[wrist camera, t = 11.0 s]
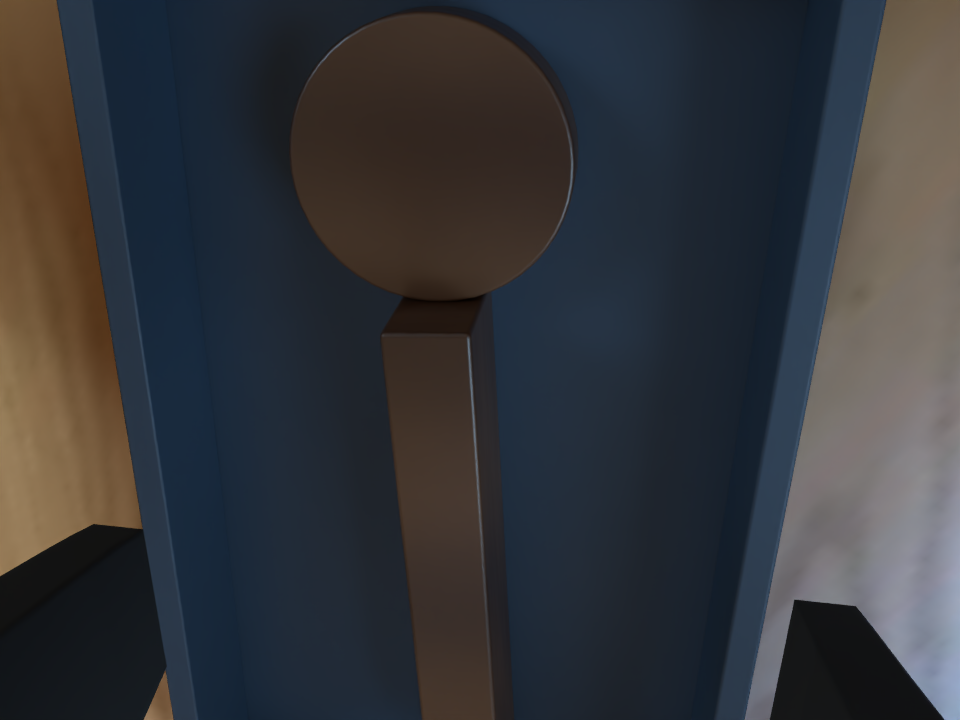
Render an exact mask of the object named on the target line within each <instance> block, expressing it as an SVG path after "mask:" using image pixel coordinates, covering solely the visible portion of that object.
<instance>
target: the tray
mask: <svg viewBox="0 0 960 720" xmlns="http://www.w3.org/2000/svg"><path fill="white" fill-rule="evenodd" d="M57 5H58V11H59V18H60V24H61V30H62V36H63V42H64V48H65V54H66V61H67V67H68V73H69V79H70V85H71V91H72V97H73V104H74V110H75V116H76V122H77V128H78V134H79V140H80V147H81V153H82V159H83V165H84V171H85V177H86V183H87V190H88V196H89V202H90V208H91V214H92V220H93V226H94V233H95V239H96V245H97V251H98V257H99V263H100V269H101V276H102V282H103V288H104V294H105V300H106V306H107V312H108V319H109V325H110V331H111V337H112V343H113V349H114V356H115V362H116V368H117V374H118V380H119V386H120V392H121V399H122V405H123V411H124V417H125V423H126V429H127V435H128V442H129V448H130V454H131V460H132V466H133V472H134V478H135V485H136V491H137V497H138V503H139V509H140V515H141V521H142V528H143V531H144V537H145V542H146V548H147V554H148V560H149V566H150V571H151V577H152V583H153V589H154V595H155V601H156V606H157V612H158V618H159V624H160V630H161V635H162V641H163V647H164V653H165V659H166V664H167V667H166V675H167V681H168V687H169V693H170V700H171V706H172V712H173V718H174V720H422V716H421V707H420V698H419V689H418V680H417V671H416V662H415V653H414V643H413V634H412V625H411V616H410V607H409V598H408V589H407V579H406V570H405V561H404V552H403V543H402V534H401V525H400V516H399V506H398V497H397V488H396V479H395V470H394V461H393V452H392V443H391V433H390V424H389V415H388V406H387V397H386V388H385V379H384V370H383V360H382V351H381V342H380V334H381V332H382V330H383V329H384V327H385V325H386V324H387V322H388V320H389V319H390V317H391V316H392V314H393V312H394V311H395V309H396V307H397V306H398V304H399V303H400V301H401V299H402V298H403V296H399V295H396V294H393V293H390V292H387V291H385V290H383V289H381V288H378V287H376V286H374V285H372V284H370V283H368V282H367V281H365V280H363V279H362V278H360V277H358V276H357V275H355V274H354V273H353V272H352V271H350V270H349V269H348V268H346V267H345V266H344V265H343V264H342V263H340V262H339V261H338V260H337V259H336V258H335V257H334V256H333V255H332V254H331V253H330V252H329V251H328V249H327V248H326V247H325V246H324V244H323V243H322V242H321V241H320V239H319V238H318V237H317V235H316V234H315V232H314V230H313V229H312V227H311V226H310V224H309V222H308V220H307V218H306V216H305V214H304V212H303V210H302V208H301V206H300V203H299V200H298V197H297V194H296V191H295V188H294V184H293V179H292V174H291V169H290V157H289V139H290V128H291V123H292V117H293V112H294V109H295V106H296V103H297V100H298V97H299V94H300V92H301V90H302V88H303V86H304V84H305V81H306V79H307V78H308V76H309V75H310V73H311V72H312V70H313V69H314V67H315V65H316V64H317V62H318V61H319V60H320V59H321V58H322V57H323V56H324V55H325V53H326V52H327V51H328V50H329V49H330V48H331V47H332V46H333V45H335V44H336V43H337V42H338V41H339V40H341V39H342V38H343V37H344V36H346V35H347V34H349V33H350V32H352V31H354V30H355V29H357V28H358V27H360V26H362V25H364V24H367V23H369V22H371V21H373V20H376V19H378V18H381V17H384V16H386V15H389V14H392V13H395V12H399V11H403V10H406V9H410V8H417V7H425V6H450V7H456V8H462V9H468V10H471V11H474V12H477V13H480V14H484V15H487V16H489V17H491V18H493V19H495V20H497V21H499V22H501V23H503V24H505V25H507V26H508V27H510V28H511V29H513V30H514V31H516V32H517V33H519V34H520V35H521V36H523V37H524V38H525V39H526V40H527V41H528V42H530V43H531V44H532V45H533V46H534V47H535V48H536V49H537V50H538V51H539V52H540V53H541V55H542V56H543V57H544V58H545V59H546V60H547V61H548V63H549V64H550V66H551V67H552V69H553V70H554V72H555V73H556V75H557V76H558V78H559V80H560V82H561V84H562V86H563V88H564V90H565V92H566V94H567V96H568V99H569V102H570V105H571V107H572V110H573V114H574V118H575V123H576V128H577V136H578V149H579V150H578V168H577V173H576V178H575V184H574V189H573V193H572V198H571V202H570V205H569V208H568V211H567V214H566V217H565V219H564V221H563V223H562V225H561V228H560V230H559V232H558V234H557V235H556V237H555V238H554V240H553V241H552V243H551V244H550V246H549V247H548V249H547V250H546V251H545V252H544V254H543V255H542V256H541V257H540V258H539V259H538V260H537V262H536V263H535V264H533V265H532V266H531V267H530V268H529V269H528V270H527V271H525V272H524V273H523V274H522V275H520V276H519V277H517V278H516V279H514V280H513V281H511V282H510V283H508V284H507V285H504V286H502V287H500V288H498V289H496V290H494V291H492V292H491V295H492V314H493V332H494V351H495V370H496V388H497V407H498V426H499V445H500V463H501V482H502V501H503V520H504V538H505V557H506V576H507V595H508V613H509V632H510V651H511V670H512V688H513V707H514V720H744V719H745V714H746V709H747V704H748V699H749V694H750V689H751V684H752V678H753V673H754V668H755V663H756V658H757V653H758V648H759V643H760V638H761V633H762V628H763V623H764V618H765V613H766V608H767V602H768V597H769V592H770V587H771V582H772V577H773V572H774V567H775V562H776V557H777V552H778V547H779V542H780V537H781V532H782V526H783V521H784V516H785V511H786V506H787V501H788V496H789V491H790V486H791V481H792V476H793V471H794V466H795V461H796V456H797V450H798V445H799V440H800V435H801V430H802V425H803V420H804V415H805V410H806V405H807V400H808V395H809V390H810V385H811V380H812V375H813V369H814V364H815V359H816V354H817V349H818V344H819V339H820V334H821V329H822V324H823V319H824V314H825V309H826V304H827V299H828V293H829V288H830V283H831V278H832V273H833V268H834V263H835V258H836V253H837V248H838V243H839V238H840V233H841V228H842V223H843V217H844V212H845V207H846V202H847V197H848V192H849V187H850V182H851V177H852V172H853V167H854V162H855V157H856V152H857V147H858V141H859V136H860V131H861V126H862V121H863V116H864V111H865V106H866V101H867V96H868V91H869V86H870V81H871V76H872V71H873V65H874V60H875V55H876V50H877V45H878V40H879V35H880V30H881V25H882V20H883V15H884V10H885V5H886V0H57Z"/></svg>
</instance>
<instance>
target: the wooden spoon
mask: <svg viewBox="0 0 960 720" xmlns="http://www.w3.org/2000/svg"><path fill="white" fill-rule="evenodd" d="M578 150H579V149H578V136H577V128H576V123H575V118H574V114H573V110H572V107H571V105H570V102H569V99H568V96H567V94H566V92H565V90H564V88H563V86H562V84H561V82H560V80H559V78H558V76H557V75H556V73H555V72H554V70H553V69H552V67H551V66H550V64H549V63H548V61H547V60H546V59H545V58H544V57H543V56H542V55H541V53H540V52H539V51H538V50H537V49H536V48H535V47H534V46H533V45H532V44H531V43H530V42H528V41H527V40H526V39H525V38H524V37H523V36H521V35H520V34H519V33H517V32H516V31H514V30H513V29H511V28H510V27H508V26H507V25H505V24H503V23H501V22H499V21H497V20H495V19H493V18H491V17H489V16H487V15H484V14H480V13H477V12H474V11H471V10H468V9H462V8H456V7H450V6H425V7H417V8H410V9H406V10H403V11H399V12H395V13H392V14H389V15H386V16H384V17H381V18H378V19H376V20H373V21H371V22H369V23H367V24H364V25H362V26H360V27H358V28H357V29H355V30H354V31H352V32H350V33H349V34H347V35H346V36H344V37H343V38H342V39H341V40H339V41H338V42H337V43H336V44H335V45H333V46H332V47H331V48H330V49H329V50H328V51H327V52H326V53H325V55H324V56H323V57H322V58H321V59H320V60H319V61H318V62H317V64H316V65H315V67H314V69H313V70H312V72H311V73H310V75H309V76H308V78H307V79H306V81H305V84H304V86H303V88H302V90H301V92H300V94H299V97H298V100H297V103H296V106H295V109H294V112H293V117H292V123H291V128H290V139H289V157H290V169H291V174H292V179H293V184H294V188H295V191H296V194H297V197H298V200H299V203H300V206H301V208H302V210H303V212H304V214H305V216H306V218H307V220H308V222H309V224H310V226H311V227H312V229H313V230H314V232H315V234H316V235H317V237H318V238H319V239H320V241H321V242H322V243H323V244H324V246H325V247H326V248H327V249H328V251H329V252H330V253H331V254H332V255H333V256H334V257H335V258H336V259H337V260H338V261H339V262H340V263H342V264H343V265H344V266H345V267H346V268H348V269H349V270H350V271H352V272H353V273H354V274H355V275H357V276H358V277H360V278H362V279H363V280H365V281H367V282H368V283H370V284H372V285H374V286H376V287H378V288H381V289H383V290H385V291H387V292H390V293H393V294H396V295H399V296H403V298H402V299H401V301H400V303H399V304H398V306H397V307H396V309H395V311H394V312H393V314H392V316H391V317H390V319H389V320H388V322H387V324H386V325H385V327H384V329H383V330H382V332H381V334H380V342H381V351H382V360H383V370H384V379H385V388H386V397H387V406H388V415H389V424H390V433H391V443H392V452H393V461H394V470H395V479H396V488H397V497H398V506H399V516H400V525H401V534H402V543H403V552H404V561H405V570H406V579H407V589H408V598H409V607H410V616H411V625H412V634H413V643H414V653H415V662H416V671H417V680H418V689H419V698H420V707H421V716H422V720H514V707H513V688H512V670H511V651H510V632H509V613H508V595H507V576H506V557H505V538H504V520H503V501H502V482H501V463H500V445H499V426H498V407H497V388H496V370H495V351H494V332H493V314H492V295H491V292H492V291H494V290H496V289H498V288H500V287H502V286H504V285H507V284H508V283H510V282H511V281H513V280H514V279H516V278H517V277H519V276H520V275H522V274H523V273H524V272H525V271H527V270H528V269H529V268H530V267H531V266H532V265H533V264H535V263H536V262H537V260H538V259H539V258H540V257H541V256H542V255H543V254H544V252H545V251H546V250H547V249H548V247H549V246H550V244H551V243H552V241H553V240H554V238H555V237H556V235H557V234H558V232H559V230H560V228H561V225H562V223H563V221H564V219H565V217H566V214H567V211H568V208H569V205H570V202H571V198H572V193H573V189H574V184H575V178H576V173H577V168H578Z"/></svg>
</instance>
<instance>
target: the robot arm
mask: <svg viewBox="0 0 960 720" xmlns="http://www.w3.org/2000/svg"><path fill="white" fill-rule="evenodd" d="M166 667H167V664H166V659H165V653H164V647H163V641H162V635H161V630H160V624H159V618H158V612H157V606H156V601H155V595H154V589H153V583H152V577H151V571H150V566H149V560H148V554H147V548H146V542H145V537H144V531H143V529H134V528H125V527H116V526H106V525H97V524H93V525H91V526H89V527H87V528H85V529H83V530H81V531H79V532H77V533H75V534H73V535H71V536H70V537H68V538H66V539H64V540H62V541H61V542H59V543H57V544H55V545H53V546H52V547H50V548H48V549H46V550H45V551H43V552H41V553H39V554H38V555H36V556H34V557H32V558H31V559H29V560H27V561H26V562H24V563H22V564H20V565H19V566H17V567H15V568H14V569H12V570H10V571H9V572H7V573H5V574H3V575H2V576H0V720H143V719H144V717H145V715H146V713H147V711H148V709H149V706H150V704H151V702H152V699H153V697H154V695H155V693H156V690H157V688H158V686H159V683H160V681H161V679H162V677H163V674H164V672H165V670H166ZM770 720H944V718H943V717H942V716H941V715H940V713H939V712H938V711H937V710H936V708H935V707H934V706H933V705H932V703H931V702H930V701H929V700H928V698H927V697H926V696H925V694H924V693H923V692H922V691H921V689H920V688H919V687H918V686H917V684H916V683H915V682H914V680H913V679H912V678H911V677H910V675H909V674H908V673H907V671H906V670H905V669H904V668H903V666H902V665H901V664H900V662H899V661H898V660H897V658H896V657H895V656H894V655H893V653H892V652H891V651H890V649H889V648H888V647H887V645H886V644H885V643H884V641H883V640H882V639H881V638H880V636H879V635H878V634H877V632H876V631H875V630H874V628H873V627H872V626H871V625H870V623H869V622H868V621H867V619H866V618H865V617H864V616H863V615H862V613H861V612H860V611H859V610H858V609H857V607H856V606H848V605H839V604H830V603H820V602H811V601H802V600H794V605H793V610H792V615H791V619H790V624H789V629H788V634H787V639H786V644H785V649H784V654H783V659H782V663H781V668H780V673H779V678H778V683H777V688H776V693H775V698H774V702H773V707H772V712H771V717H770Z"/></svg>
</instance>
